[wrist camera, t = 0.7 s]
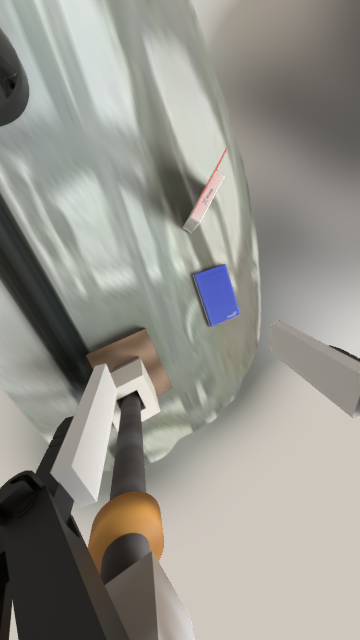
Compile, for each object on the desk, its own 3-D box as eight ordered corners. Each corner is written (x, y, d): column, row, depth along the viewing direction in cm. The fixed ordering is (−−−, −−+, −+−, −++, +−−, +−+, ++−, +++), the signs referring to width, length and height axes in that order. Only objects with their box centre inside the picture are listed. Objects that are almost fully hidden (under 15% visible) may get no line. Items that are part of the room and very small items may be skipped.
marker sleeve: (108, 374, 30) (99, 396, 23) (140, 358, 31) (142, 374, 24) (123, 403, 31) (119, 434, 24) (154, 386, 32) (160, 411, 25)
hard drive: (241, 314, 42) (226, 263, 40) (211, 327, 40) (194, 274, 38) (237, 314, 43) (222, 265, 42) (208, 326, 42) (191, 275, 40)
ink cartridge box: (213, 192, 39) (239, 155, 30) (191, 234, 39) (209, 211, 29) (204, 185, 39) (227, 145, 29) (181, 228, 38) (197, 201, 29)
